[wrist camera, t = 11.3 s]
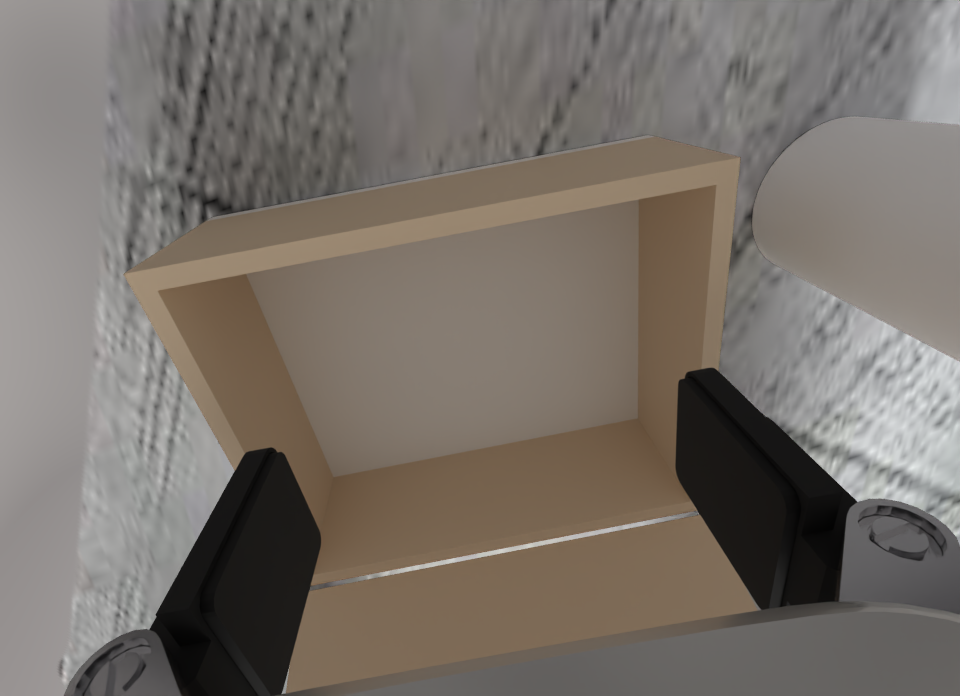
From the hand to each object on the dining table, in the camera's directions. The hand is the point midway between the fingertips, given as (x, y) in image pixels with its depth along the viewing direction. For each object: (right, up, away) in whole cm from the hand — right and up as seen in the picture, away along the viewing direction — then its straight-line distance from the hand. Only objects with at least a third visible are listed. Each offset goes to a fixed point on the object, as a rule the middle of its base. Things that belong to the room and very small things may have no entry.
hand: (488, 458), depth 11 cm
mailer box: (-1, +3, +17) cm, 17 cm away
